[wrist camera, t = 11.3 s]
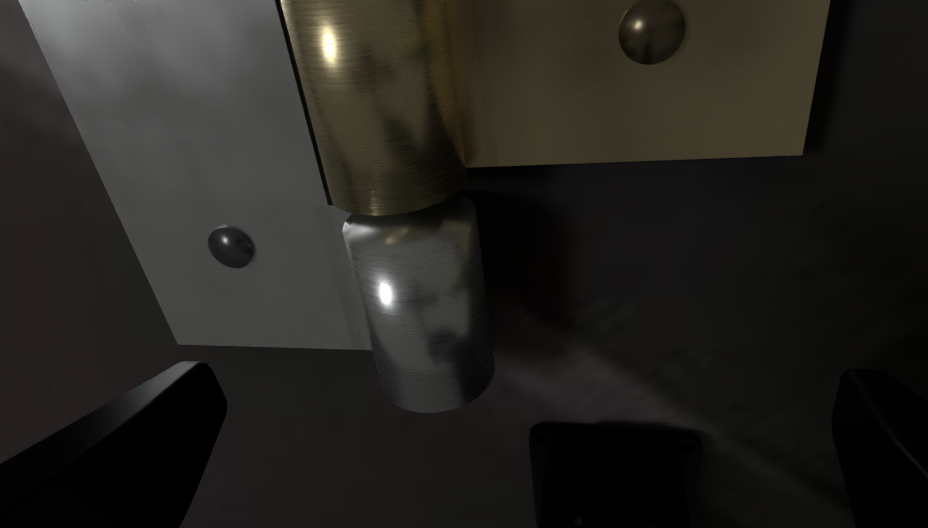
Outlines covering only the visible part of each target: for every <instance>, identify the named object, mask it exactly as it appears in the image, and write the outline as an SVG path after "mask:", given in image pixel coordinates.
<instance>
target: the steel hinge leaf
mask: <svg viewBox="0 0 928 528" xmlns="http://www.w3.org/2000/svg"><path fill="white" fill-rule="evenodd" d="M19 2H20V4H21V7H22V9H23V11H24V13H25V15H26V17H27V20H28V22H29V24H30V26H31V28H32V30H33V33H34V35H35V37H36V39H37V41H38V43H39V45H40V48H41V50H42V52H43V54H44V56H45V58H46V61H47V63H48V65H49V67H50V69H51V71H52V74H53V76H54V78H55V80H56V82H57V84H58V86H59V89H60V91H61V93H62V95H63V97H64V99H65V102H66V104H67V106H68V108H69V110H70V112H71V115H72V117H73V119H74V121H75V123H76V125H77V127H78V130H79V132H80V134H81V136H82V138H83V140H84V143H85V145H86V147H87V149H88V151H89V153H90V155H91V158H92V160H93V162H94V164H95V166H96V168H97V171H98V173H99V175H100V177H101V179H102V181H103V184H104V186H105V188H106V190H107V192H108V194H109V196H110V199H111V201H112V203H113V205H114V207H115V209H116V212H117V214H118V216H119V218H120V220H121V222H122V225H123V227H124V229H125V231H126V233H127V235H128V237H129V240H130V242H131V244H132V246H133V248H134V250H135V253H136V255H137V257H138V259H139V261H140V263H141V266H142V268H143V270H144V272H145V274H146V276H147V278H148V281H149V283H150V285H151V287H152V289H153V291H154V294H155V296H156V298H157V300H158V302H159V304H160V306H161V309H162V311H163V313H164V315H165V317H166V319H167V322H168V324H169V326H170V328H171V330H172V332H173V335H174V337H175V339H176V341H177V343H178V344H183V345H217V346H252V347H286V348H320V349H355V350H373V354H374V358H375V362H376V366H377V370H378V374H379V378H380V382H381V386H382V389H383V392H384V394H385V395H386V396H387V398H388V399H389V400H390V401H391V402H393V403H394V404H396V405H397V406H399V407H401V408H403V409H406V410H409V411H414V412H421V413H436V412H443V411H449V410H452V409H455V408H458V407H461V406H463V405H465V404H467V403H469V402H471V401H472V400H474V399H475V398H477V397H478V396H479V395H480V394H482V393H483V392H484V391H485V389H486V388H487V387H488V386H489V384H490V383H491V381H492V379H493V376H494V372H495V362H494V354H493V346H492V338H491V329H490V321H489V313H488V305H487V296H486V288H485V280H484V272H483V263H482V255H481V247H480V239H479V231H478V222H477V214H476V208H475V205H474V204H473V202H472V201H471V200H469V199H468V198H467V197H465V196H463V195H461V194H458V193H455V194H454V195H453V196H451V197H450V198H448V199H446V200H444V201H442V202H440V203H437V204H435V205H433V206H430V207H427V208H424V209H420V210H417V211H412V212H408V213H402V214H396V215H385V216H367V215H358V214H353V213H349V212H346V211H343V210H341V209H339V208H338V207H336V206H335V205H334V204H333V202H332V200H331V196H330V192H329V188H328V184H327V181H326V177H325V173H324V169H323V165H322V161H321V157H320V153H319V149H318V145H317V142H316V138H315V134H314V130H313V126H312V122H311V118H310V114H309V110H308V106H307V103H306V99H305V95H304V91H303V87H302V83H301V79H300V75H299V71H298V67H297V64H296V60H295V56H294V52H293V48H292V44H291V40H290V36H289V32H288V29H287V25H286V21H285V17H284V13H283V9H282V5H281V1H280V0H19Z"/></svg>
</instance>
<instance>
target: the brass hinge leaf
mask: <svg viewBox="0 0 928 528" xmlns="http://www.w3.org/2000/svg"><path fill="white" fill-rule="evenodd" d="M280 1H281V5H282V9H283V13H284V17H285V21H286V25H287V29H288V32H289V36H290V40H291V44H292V48H293V52H294V56H295V60H296V64H297V67H298V71H299V75H300V79H301V83H302V87H303V91H304V95H305V99H306V103H307V106H308V110H309V114H310V118H311V122H312V126H313V130H314V134H315V138H316V142H317V145H318V149H319V153H320V157H321V161H322V165H323V169H324V173H325V177H326V181H327V184H328V188H329V192H330V196H331V200H332V202H333V204H334V205H335V206H336V207H338V208H339V209H341V210H343V211H346V212H349V213H353V214H358V215H367V216H385V215H396V214H402V213H408V212H412V211H417V210H420V209H424V208H427V207H430V206H433V205H435V204H437V203H440V202H442V201H444V200H446V199H448V198H450V197H451V196H453V195H454V194H455V193H457V192H458V191H459V190H460V189H461V188H462V187H463V186H464V184H465V182H466V179H467V172H466V168H469V167H496V166H522V165H549V164H576V163H603V162H629V161H656V160H683V159H709V158H736V157H763V156H790V155H802V154H803V148H804V143H805V137H806V132H807V126H808V121H809V115H810V110H811V104H812V99H813V93H814V88H815V82H816V76H817V71H818V65H819V60H820V54H821V49H822V43H823V38H824V32H825V27H826V21H827V16H828V10H829V5H830V0H280Z"/></svg>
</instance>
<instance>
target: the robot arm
mask: <svg viewBox="0 0 928 528" xmlns="http://www.w3.org/2000/svg"><path fill="white" fill-rule="evenodd" d="M226 412H227V400H226V397H225V395H224V393H223V390H222V388H221V386H220V384H219V382H218V379H217V377H216V375H215V373H214V371H213V369H212V367H211V366H210V365H209V364H208V363H207V362H204V361H183V362H179V363H177V364H176V365H174V366H172V367H170V368H168V369H167V370H165V371H163V372H161V373H160V374H158V375H156V376H154V377H153V378H151V379H149V380H147V381H146V382H144V383H142V384H140V385H139V386H137V387H135V388H133V389H131V390H130V391H128V392H126V393H124V394H123V395H121V396H119V397H117V398H116V399H114V400H112V401H110V402H109V403H107V404H105V405H103V406H102V407H100V408H98V409H96V410H94V411H93V412H91V413H89V414H87V415H86V416H84V417H82V418H80V419H79V420H77V421H75V422H73V423H72V424H70V425H68V426H66V427H65V428H63V429H61V430H59V431H57V432H56V433H54V434H52V435H50V436H49V437H47V438H45V439H43V440H42V441H40V442H38V443H36V444H35V445H33V446H31V447H29V448H28V449H26V450H24V451H22V452H20V453H19V454H17V455H15V456H13V457H12V458H10V459H8V460H6V461H5V462H3V463H1V464H0V528H179V527H180V525H181V523H182V521H183V519H184V517H185V515H186V513H187V511H188V509H189V507H190V504H191V502H192V500H193V498H194V495H195V493H196V490H197V488H198V485H199V483H200V480H201V478H202V475H203V473H204V470H205V467H206V465H207V462H208V460H209V457H210V455H211V452H212V449H213V447H214V444H215V442H216V439H217V437H218V434H219V431H220V429H221V426H222V424H223V421H224V419H225V416H226ZM832 434H833V438H834V442H835V446H836V450H837V454H838V458H839V462H840V466H841V470H842V473H843V477H844V481H845V485H846V489H847V493H848V497H849V501H850V505H851V508H852V512H853V516H854V520H855V524H856V528H928V401H926V400H925V399H924V398H922V397H921V396H919V395H918V394H916V393H915V392H914V391H912V390H911V389H909V388H908V387H906V386H905V385H904V384H902V383H901V382H899V381H898V380H896V379H895V378H894V377H892V376H891V375H889V374H888V373H886V372H884V371H881V370H860V369H850V370H847V371H845V372H844V373H843V374H842V376H841V379H840V383H839V387H838V392H837V396H836V401H835V405H834V410H833V414H832ZM540 436H544V437H540ZM687 444H689V445H688V446H686V445H687ZM529 445H530V456H531V467H532V478H533V489H534V500H535V511H536V522H537V528H693V522H694V514H695V506H696V498H697V490H698V481H699V473H700V465H701V457H702V445H701V440H700V437H699V436H698V435H697V434H695V433H692V432H684V431H665V430H647V429H628V428H609V427H591V426H572V425H553V424H536V425H534V426H533V427H532V428H531V429H530V436H529Z"/></svg>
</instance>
